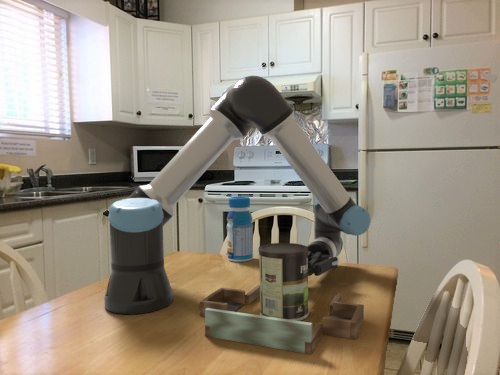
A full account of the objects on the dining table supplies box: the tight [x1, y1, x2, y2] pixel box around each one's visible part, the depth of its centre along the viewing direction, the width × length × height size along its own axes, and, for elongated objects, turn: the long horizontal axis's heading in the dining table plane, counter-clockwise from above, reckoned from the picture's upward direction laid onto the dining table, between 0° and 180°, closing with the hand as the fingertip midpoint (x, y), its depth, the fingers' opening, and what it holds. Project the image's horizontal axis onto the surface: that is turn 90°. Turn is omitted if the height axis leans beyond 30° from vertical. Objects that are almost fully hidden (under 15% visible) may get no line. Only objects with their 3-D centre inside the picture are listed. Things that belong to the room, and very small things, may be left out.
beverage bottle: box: [226, 196, 254, 263], centre depth 136 cm, size 8×8×20 cm
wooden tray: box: [199, 284, 365, 355], centre depth 86 cm, size 32×26×5 cm
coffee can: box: [257, 242, 310, 321], centre depth 88 cm, size 10×10×14 cm
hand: (294, 277), depth 93 cm, fingers closed
